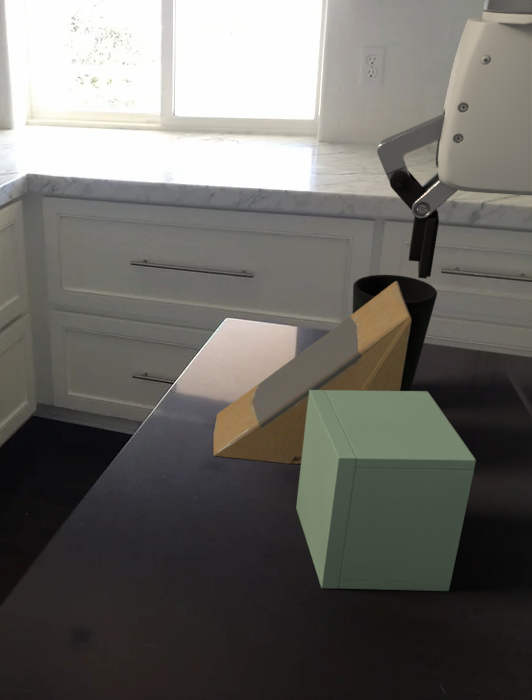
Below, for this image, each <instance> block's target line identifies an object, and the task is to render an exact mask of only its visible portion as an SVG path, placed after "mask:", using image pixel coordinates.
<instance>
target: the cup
mask: <svg viewBox="0 0 532 700" xmlns="http://www.w3.org/2000/svg"><path fill="white" fill-rule="evenodd" d="M395 281H397V282H398V284H399V287H400V290H401V293H402V296H403V299H404V301H405V304H406V306H407V309H408V311H409V314H410V316H411V326H410V332H409V338H408V344H407V351H406V357H405V363H404V369H403V375H402V381H401V388H400V391H412V387H413V382H414V379H415V376H416V372H417V369H418V365H419V361H420V358H421V353H422V351H423V346H424V343H425V341H426V340H425V339H426V336H427V333H428V329H429V325H430V323H431V318H432V314H433V311H434V308H435V304H436V299H437V296H438V291H437V289H436V288H435V287H434V286H433V285H432V284H430V283H428V282H425V281H423V280H421V279H419V278H414V277H409V276H405V275H404V276H403V275H395V274H373V275H368V276H363V277H361V278H357V280H356V281H354V282H353V286H352V314H353V313H355V312H356V311H357V310H359V309H360V308H361V307H362V306H364V305H365V304H366V303H368V302H369V301H370V300H372V299H373V298H374V297H375V296H377V295H378V294H379V293H381V292H382V291H383V290H384V289H386V288H387V287H388V286H390V285H391V284H392V283H394V282H395Z"/></svg>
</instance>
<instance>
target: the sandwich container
mask: <svg viewBox="0 0 532 700" xmlns="http://www.w3.org/2000/svg"><path fill="white" fill-rule="evenodd" d="M410 326H411V316H410V314H409V311H408V309H407V306H406V304H405V301H404V299H403V296H402V293H401V290H400V287H399V284H398V282H397V281H395V282H394V283H392V284H391V285H390V286H388V287H387V288H386V289H384V290H383V291H382V292H381V293H379V294H378V295H377V296H375V297H374V298H373V299H372V300H370V301H369V302H368V303H366V304H365V305H364V306H362V307H361V308H360V309H359V310H357V311H356V312H355V313H353V312H352V314H350V315H349V316H348V317H347V318H345V319H344V320H343V321H341V322H340V323H339V324H338V325H336V326H334V328H332V329H331V330H330V331H328V332H327V333H326V334H324V335H322V336H321V337H320V338H319V339H317V340H316V341H315V342H313V343H312V344H310V345H309V346H308V347H306V348H305V349H303V350H302V351H301V352H300V353H299V354H297V355H295V356H294V357H293V358H292V359H291V360H289V361H288V362H287V363H285V364H284V365H282V366H281V367H280V368H278V369H276V371H274V372H273V373H271V374H270V375H268V377H266V378H265V379H263V380H262V381H261V382H259V383H258V384H257V385H255V386H254V387H252V388H251V389H250V390H248V391H247V392H246V393H244V394H243V395H241V396H240V397H239V398H238V399H236V400H235V401H232V403H230V404H229V405H227V406H226V407H225V408H223V409H222V410H221V411H218V413H217V414H216V418H215V423H214V428H213V456H214V457H215V456H216V457H223V458H233V459H242V460H250V461H251V460H252V461H261V462H270V463H271V462H272V463H280V464H293V465H294V464H295V465H301V460H302V451H303V442H304V433H305V424H306V415H307V406H308V397H309V390H348V391H400V388H401V381H402V375H403V369H404V363H405V357H406V351H407V344H408V338H409V332H410Z"/></svg>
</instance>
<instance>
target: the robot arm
mask: <svg viewBox="0 0 532 700" xmlns="http://www.w3.org/2000/svg"><path fill="white" fill-rule="evenodd" d="M483 4H484V5H483V10H482V15H481V16H475V17H469V18H467V21H466V24H465V26H464V28H463V31H462V34H461V36H460V40H459V43H458V47H457V50H456V53H455V56H454V61H453V64H452V68H451V73H450V76H449V82H448V86H447V91H446V96H445V100H444V105H443V110H442V114H440V115H438V116H435V117H433V118H431V119H428V120H425V121H423V122H421V123H419V124H417V125H414V126H412V127H409V128H407V129H405V130H402V131H400V132H398V133H396V134H393V135H391V136H389V137H386V138H383V139H382V140H380V141H379V142H378V145H377V151H376V152H377V153H376V154H377V157H378V158H379V161H380V164H381V165H382V168H383V171H384V172H385V175H386V177H387V179H388V182H389V185H390V188H391V189H392V191H393V192H395V194H396V195H397V196H398V198H400V199H401V200H402V202H403V203H404V204H405V205H406V206H407V207H408V208H409V209H410V211H411V214H412V215H413V216H414V218H413V222H412V223H413V224H412V230H411V231H412V232H411V238H410V244H409V252H408V262H409V261H410V262H417V263H418V264H417V265H418V266H417V276H418V277H417V279H428V277H430V278H431V275H432V271H433V270H432V268H433V262H434V255H435V249H436V243H437V236H438V230H439V223H440V218H439V210H438V208H440V206H442V205H443V204H444V203H445V202H446V201H447V200H449V199H450V198H451V197H452V196H454V194H456V193H457V192H458V191H461V192H469V193H470V192H471V193H482V194H500V195H517V196H532V0H484V3H483ZM436 142H437V144H436V150H435V151H436V152H435V166H436V168H437V172H436V173H435V174H434V175H432V176H431V177H430V178H429V179H428V180H427V181H426V182H425V183H423V184H421V183H420V182H419V181H418V179H417V178H416V177H415V176H414V175H413V174H412V173H411V172H410V171H409V169H408V166H407V164H406V161H405V157H406V155H408V154H409V153H412V152H415V151H417V150H419V149H421V148H424V147H426V146H428V145H431V144H433V143H436Z"/></svg>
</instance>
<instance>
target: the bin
mask: <svg viewBox="0 0 532 700" xmlns="http://www.w3.org/2000/svg"><path fill="white" fill-rule="evenodd" d="M476 462H477V460H476V458H475V456H474V455H473V453H472V452H471V451H470V450H469V448H468V446H467V445H466V443H465V442H464V441H463V439H462V438H461V437H460V435H459V433H458V432H457V430H456V429H455V428H454V426H453V425H452V424H451V422H450V421H449V420H448V418H447V416H446V415H445V414H444V412H443V411H442V409H441V408H440V406H439V405H438V404H437V402H436V401H435V399H434V398H433V396H432V395H431V393H429V391H427V390H424V391H423V390H410V391H348V390H309V397H308V406H307V415H306V424H305V433H304V442H303V451H302V460H301V464H300V469H299V470H300V471H299V478H298V487H297V488H298V489H297V497H296V506H295V507H296V508H295V509H296V512H297V516H298V518H299V522H300V525H301V527H302V531H303V534H304V537H305V541H306V543H307V547H308V550H309V553H310V556H311V559H312V563H313V565H314V569H315V572H316V576H317V579H318V581H319V586H320V588H321V589H331V590H332V589H336V590H337V589H340V590H341V589H342V590H343V589H344V590H345V589H347V590H380V591H381V590H382V591H384V590H385V591H423V592H424V591H425V592H427V591H429V592H449V591H450V587H451V582H452V579H453V573H454V569H455V565H456V564H455V563H456V559H457V554H458V549H459V545H460V540H461V534H462V530H463V525H464V522H465V521H464V520H465V516H466V511H467V507H468V502H469V497H470V491H471V486H472V481H473V478H474V472H475V467H476Z"/></svg>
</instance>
